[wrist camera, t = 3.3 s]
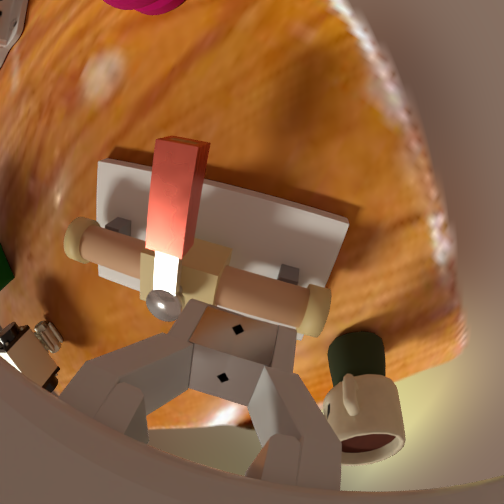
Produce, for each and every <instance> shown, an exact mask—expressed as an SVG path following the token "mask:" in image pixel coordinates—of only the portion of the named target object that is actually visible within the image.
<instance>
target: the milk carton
mask: <svg viewBox="0 0 504 504" xmlns="http://www.w3.org/2000/svg"><path fill="white" fill-rule="evenodd" d="M14 278H15V277H14V275H13V273H12V271H11V268H10V266H9V264H8V261H7V259H6V257H5V254H4V252H3V249H2V247H1V244H0V291H1V290H2V289H3V288H4V287H5V286H6V285H7V284H8V283H9V282H10V281H11V280H13V279H14Z"/></svg>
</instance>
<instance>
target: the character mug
mask: <svg viewBox="0 0 504 504" xmlns="http://www.w3.org/2000/svg"><path fill="white" fill-rule="evenodd" d="M328 361H329V368H330V373H331V377H332V382H333V388H332V389H331V390H330V391H329V392H328V393H327V395H326V397H325V399H324V402H323V410H324V416H325V418H326V420H327V421H328V423H329V424H330V426H331V427H332V429H333V431H334V432H335V434H336V435H337V437H338V438H339V440H340V441H341V443H342V455H341V465H346V466H358V465H366V464H372V463H375V462H379V461H382V460H385V459H387V458H389V457H391V456H393V455H395V454H396V453H397V452H399V451H400V450H401V449H402V448H403V447H404V443H405V431H404V425H403V418H402V412H401V407H400V401H399V395H398V390H397V387H396V385H395V384H394V382H393V381H392V380H391V379H390V378H387V377H385V352H384V345H383V342H382V339H381V338H380V337H379V336H377V335H376V334H374V333H370V332H363V331H361V332H354V333H348V334H345V335H342V336H340V337H337V338H336V339H335V340H334V341H333V342H332V343H331V345H330V346H329V350H328Z"/></svg>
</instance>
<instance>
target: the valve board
mask: <svg viewBox="0 0 504 504" xmlns="http://www.w3.org/2000/svg"><path fill="white" fill-rule="evenodd" d="M151 174H152V167H150V166H145V165H140V164H135V163H130V162H125V161H120V160H115V159H109V158H106V159H103V160H100V161H98V174H97V221H94V220H91V219H88V218H85V217H77V218H76V219H74V220H73V221H72V222H71V224H70V225H69V227H68V229H67V231H66V234H65V238H64V250H65V253H66V255H67V256H68V257H69V258H71V259H74V260H76V261H79V262H81V263H88V262H90V261H91V262H93V263H96V264H98V270H99V276H101V277H103V278H106V279H108V280H111V281H113V282H116V283H119V284H121V285H124V286H127V287H129V288H132V289H135V290H137V291H140V299H141V300H144V301H146V298H147V295H148V294H149V293H150V292H151V290H152V289H153V286H154V265H155V251H154V250H150V249H147V248H146V231H147V217H148V204H149V193H150V183H151ZM348 227H349V222H348V219H347V218H346V217H342V216H339V215H336V214H333V213H330V212H326V211H323V210H320V209H316V208H313V207H310V206H306V205H303V204H299V203H296V202H292V201H289V200H285V199H282V198H278V197H274V196H271V195H267V194H263V193H260V192H256V191H252V190H248V189H244V188H241V187H237V186H233V185H229V184H225V183H221V182H217V181H213V180H208V179H204V181H203V187H202V193H201V199H200V205H199V211H198V218H197V224H196V231H195V237H194V244H193V246H192V247H191V248H190V250H189V251H188V252H187V253H186V254H185V256H184V257H183V261H182V270H181V279H180V289H179V290H180V291H181V293H182V294H183V296H184V298H185V306H186V304H187V302H188V301H189V300H190V299H192V298H193V299H196V300H199V301H202V302H205V303H208V304H211V305H214V306H217V307H220V308H223V309H226V310H229V311H232V312H235V313H238V314H241V315H244V316H247V317H251V318H254V319H258V320H261V321H265V322H268V323H272V324H275V325H281V326H285V327H289V328H293V329H296V330H297V338H296V340H300V341H301V340H302V338H303V336H304V335H308V336H312V337H318V336H319V335H320V333H321V332H322V330H323V328H324V325H325V323H326V320H327V317H328V313H329V309H330V304H331V290H330V289H328V288H325V285H326V283H327V280H328V278H329V276H330V273H331V271H332V268H333V266H334V263H335V261H336V258H337V256H338V253H339V250H340V248H341V245H342V243H343V240H344V237H345V235H346V232H347V229H348Z"/></svg>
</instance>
